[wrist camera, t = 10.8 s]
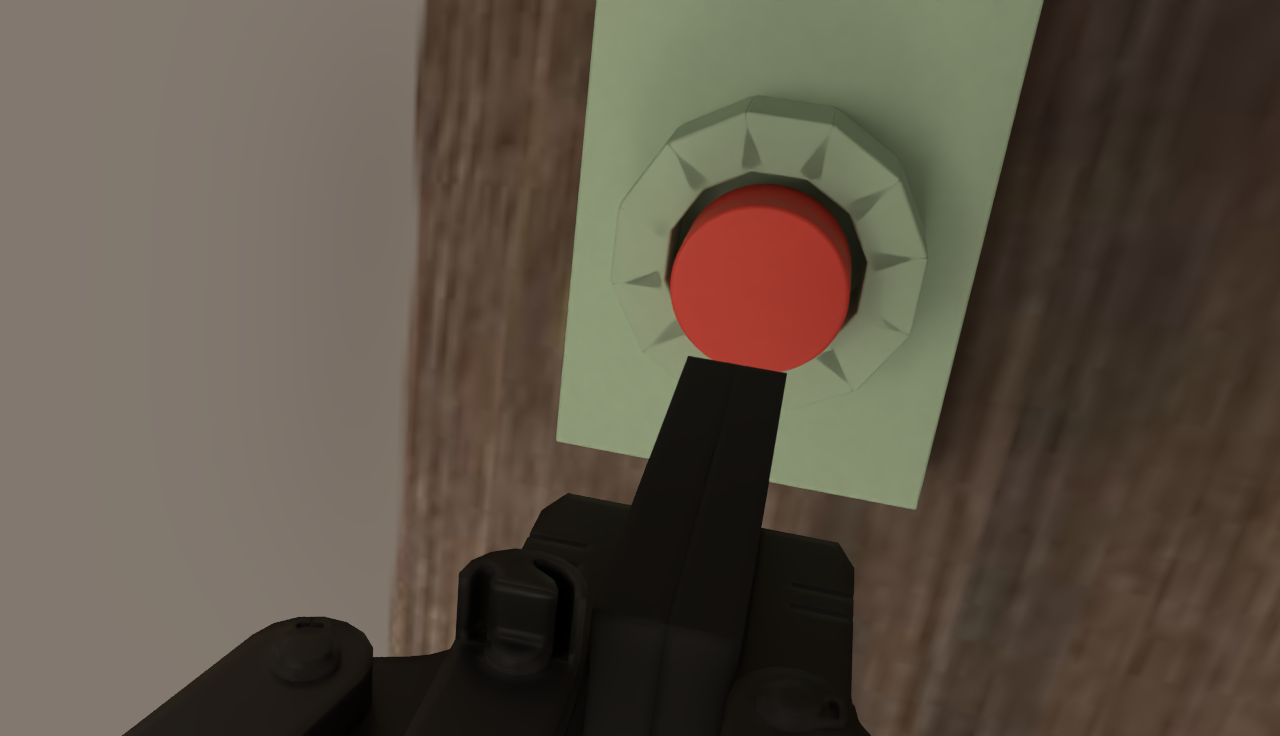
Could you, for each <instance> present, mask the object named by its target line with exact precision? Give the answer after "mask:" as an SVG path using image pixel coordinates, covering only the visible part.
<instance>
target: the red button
mask: <svg viewBox="0 0 1280 736" xmlns="http://www.w3.org/2000/svg"><path fill="white" fill-rule="evenodd" d="M851 271H852V268H851V254H850V248H849V245H848V241H847V238H846V236H845V234H844V232H843V229H842V228H841V226H840V224H839V223H838V221H837V220H836V218H835V217H834V216H833V215H832V214H831V212H830V211H829V210H828V209H827V208H826V207H825V206H823V205H822V204H821V203H820V202H819V201H817V200H816V199H814V198H813V197H811V196H809V195H807V194H806V193H804V192H802V191H799V190H796V189H794V188H791V187H787V186H782V185H776V184H754V185H748V186H743V187H740V188H737V189H734V190H731V191H729V192H727V193H725V194H723V195H721V196H720V197H718V198H716V199H715V200H714V201H712V202H711V203H710V204H709V205H707V206H706V207H705V208H704V209H703V211H702V212H701V213H700V214H699V215H698V216H697V218H696V219H695V221H694V222H693V224H692V226H691V228H690V229H689V231H688V233H687V235H686V237H685V239H684V241H683V243H682V245H681V247H680V249H679V251H678V253H677V255H676V258H675V261H674V264H673V268H672V273H671V280H670V294H671V302H672V306H673V310H674V313H675V316H676V319H677V321H678V323H679V325H680V327H681V329H682V330H683V332H684V333H685V335H686V336H687V337H688V339H689V340H690V341H691V342H692V343H693V344H694V346H695V347H696V348H698V349H699V350H700V351H701V352H702V353H703V354H704V355H706V356H707V357H709V358H710V359H712V360H716V361H721V362H727V363H733V364H738V365H744V366H750V367H755V368H761V369H767V370H772V371H778V372H783V371H787V370H791V369H794V368H796V367H799V366H801V365H803V364H805V363H807V362H809V361H811V360H812V359H814V358H815V357H816V356H818V355H819V354H820V353H821V352H823V351H824V350H825V349H826V348H827V347H828V346H829V345H830V343H831V342H832V341H833V340H834V339H835V337H836V336H837V334H838V332H839V331H840V329H841V327H842V325H843V323H844V320H845V318H846V315H847V311H848V307H849V300H850V289H851Z"/></svg>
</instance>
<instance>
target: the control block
mask: <svg viewBox="0 0 1280 736" xmlns="http://www.w3.org/2000/svg"><path fill="white" fill-rule="evenodd" d="M1043 2H1044V0H596V11H595V22H594V33H593V43H592V54H591V65H590V76H589V87H588V98H587V108H586V119H585V130H584V141H583V152H582V163H581V174H580V184H579V195H578V206H577V217H576V228H575V239H574V249H573V260H572V271H571V282H570V293H569V304H568V314H567V325H566V336H565V347H564V358H563V369H562V379H561V390H560V401H559V412H558V423H557V434H556V440H557V441H558V442H564V443H569V444H574V445H579V446H584V447H590V448H595V449H600V450H605V451H611V452H616V453H621V454H626V455H632V456H637V457H642V458H647V459H649V458H650V455H651V452H652V450H653V447H654V445H655V442H656V439H657V437H658V434H659V431H660V429H661V426H662V423H663V421H664V418H665V415H666V413H667V410H668V407H669V405H670V402H671V400H672V397H673V394H674V392H675V389H676V386H677V384H678V381H679V378H680V376H681V373H682V370H683V368H684V365H685V363H686V360H687V357H688V356H693V357H699V358H705V359H710V358H709V357H707V356H706V355H704V354H703V353H702V352H701V351H700V350H699V349H698V348H696V347H695V346H694V344H693V343H692V342H691V341H690V340H689V339H688V337H687V336H686V335H685V333H684V332H683V330H682V329H681V327H680V325H679V323H678V321H677V319H676V316H675V313H674V310H673V306H672V302H671V294H670V280H671V273H672V268H673V264H674V261H675V258H676V255H677V253H678V251H679V249H680V247H681V245H682V243H683V241H684V239H685V237H686V235H687V233H688V231H689V229H690V228H691V226H692V224H693V222H694V221H695V219H696V218H697V216H698V215H699V214H700V213H701V212H702V211H703V209H704V208H705V207H706V206H707V205H709V204H710V203H711V202H712V201H714V200H715V199H716V198H718V197H720V196H721V195H723V194H725V193H727V192H729V191H731V190H734V189H737V188H740V187H743V186H748V185H754V184H776V185H782V186H787V187H791V188H794V189H796V190H799V191H802V192H804V193H806V194H807V195H809V196H811V197H813V198H814V199H816V200H817V201H819V202H820V203H821V204H822V205H823V206H825V207H826V208H827V209H828V210H829V211H830V212H831V214H832V215H833V216H834V217H835V218H836V220H837V221H838V223H839V224H840V226H841V228H842V229H843V232H844V234H845V236H846V238H847V241H848V245H849V248H850V254H851V268H852V271H851V289H850V300H849V307H848V311H847V315H846V318H845V320H844V323H843V325H842V327H841V329H840V331H839V332H838V334H837V336H836V337H835V339H834V340H833V341H832V342H831V343H830V345H829V346H828V347H827V348H826V349H825V350H824V351H823V352H821V353H820V354H819V355H818V356H816V357H815V358H814V359H812V360H811V361H809V362H807V363H805V364H803V365H801V366H799V367H796V368H794V369H791V370H787V371H783V372H784V373H787V378H786V383H785V389H784V395H783V401H782V407H781V413H780V419H779V425H778V431H777V437H776V443H775V449H774V455H773V461H772V467H771V473H770V479H769V482H773V483H778V484H783V485H789V486H794V487H799V488H804V489H809V490H815V491H820V492H825V493H830V494H836V495H841V496H846V497H851V498H857V499H862V500H867V501H872V502H877V503H883V504H888V505H893V506H898V507H904V508H909V509H916V508H917V505H918V501H919V497H920V493H921V489H922V485H923V481H924V477H925V473H926V469H927V465H928V461H929V457H930V453H931V449H932V445H933V441H934V437H935V433H936V429H937V425H938V421H939V417H940V413H941V409H942V405H943V401H944V397H945V393H946V389H947V385H948V381H949V377H950V373H951V369H952V365H953V361H954V357H955V353H956V349H957V345H958V341H959V337H960V333H961V329H962V325H963V321H964V317H965V313H966V309H967V305H968V301H969V297H970V293H971V289H972V285H973V281H974V277H975V273H976V269H977V265H978V261H979V257H980V253H981V249H982V245H983V241H984V237H985V233H986V229H987V225H988V221H989V217H990V213H991V209H992V205H993V201H994V197H995V193H996V189H997V185H998V181H999V177H1000V173H1001V169H1002V165H1003V161H1004V157H1005V153H1006V149H1007V145H1008V141H1009V137H1010V133H1011V129H1012V125H1013V121H1014V117H1015V113H1016V109H1017V105H1018V101H1019V97H1020V93H1021V89H1022V85H1023V81H1024V77H1025V73H1026V70H1027V66H1028V62H1029V58H1030V54H1031V50H1032V46H1033V42H1034V38H1035V34H1036V30H1037V26H1038V22H1039V18H1040V14H1041V10H1042V6H1043ZM710 360H712V359H710Z"/></svg>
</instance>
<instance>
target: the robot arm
mask: <svg viewBox="0 0 1280 736" xmlns="http://www.w3.org/2000/svg"><path fill="white" fill-rule="evenodd" d="M786 378H787V373H784V372H778V371H772V370H767V369H761V368H755V367H750V366H744V365H738V364H733V363H727V362H721V361H716V360H710V359H705V358H699V357H693V356H688V357H687V360H686V363H685V365H684V368H683V370H682V373H681V376H680V378H679V381H678V384H677V386H676V389H675V392H674V394H673V397H672V400H671V402H670V405H669V407H668V410H667V413H666V415H665V418H664V421H663V423H662V426H661V429H660V431H659V434H658V437H657V439H656V442H655V445H654V447H653V450H652V452H651V455H650V458H649V460H648V463H647V466H646V468H645V471H644V474H643V476H642V479H641V482H640V484H639V487H638V489H637V492H636V495H635V497H634V500H633V503H632V505H626V504H621V503H616V502H611V501H606V500H600V499H595V498H590V497H585V496H580V495H575V494H570V493H567V494H566V495H564V496H563V497H561V498H560V499H558V500H557V501H555V502H553V503H552V504H550V505H549V506H547V507H546V508H544V509H543V510H542V511H541V513H540V515H539V517H538V519H537V521H536V523H535V525H534V527H533V528H532V530H531V532H530V537H528V538H527V540H526V542H525V544H524V546H523V548H522V549H509V550H502V551H495V552H490V553H488V554H485V555H483V556H481V557H479V558H476V559H474V560H472V561H471V562H470V563H469V564H468V565H467V566H466V567H465V568H464V569H463V570H462V571H461V572H460V573H459V585H458V603H457V621H456V639H455V641H454V643H453V645H452V647H451V649H449V650H445V651H442V652H438V653H434V654H430V655H421V656H410V657H373V647H372V645H371V644H370V642H369V640H368V639H367V637H366V635H365V634H364V633H363V632H362V631H360V630H358V629H357V628H355V627H354V626H352V625H350V624H349V623H347V622H344V621H340V620H336V619H331V618H327V617H297V618H293V619H289V620H285V621H281V622H277V623H273V624H271V625H270V626H268V627H266V628H264V629H262V630H260V631H259V632H257V633H255V634H253V635H252V636H250V637H249V638H248V639H247V640H245V641H244V642H243V643H241V644H240V645H239V646H237V647H236V648H235V649H234V650H232V651H231V652H230V653H229V654H227V655H226V656H224V657H223V658H222V659H221V660H219V661H218V662H217V663H216V664H214V665H213V666H212V667H210V668H209V669H208V670H206V671H205V672H204V673H203V674H201V675H200V676H199V677H197V678H196V679H195V680H193V681H192V682H191V683H190V684H188V685H187V686H186V687H185V688H183V689H182V690H181V691H179V692H178V693H177V694H175V695H174V696H173V697H171V698H170V699H169V700H168V701H166V702H165V703H164V704H162V705H161V706H160V707H159V708H157V709H156V710H155V711H153V712H152V713H151V714H150V715H148V716H147V717H146V718H144V719H143V720H142V721H140V722H139V723H138V724H137V725H135V726H134V727H133V728H131V729H130V730H129V731H128V732H126V733H125V734H124V735H122V736H871V735H870V734H869V733H868V732H867V731H866V730H865V728H864V727H863V726H862V725H861V724H860V722H859V720H858V717H857V713H856V709H855V706H854V705H853V704H852V698H851V681H852V641H853V620H852V619H853V601H854V599H853V595H854V567H853V566H852V564H851V562H850V561H849V559H848V557H847V556H846V554H845V553H844V551H843V549H842V548H841V546H840V545H839V543H837V542H832V541H826V540H821V539H816V538H811V537H806V536H801V535H796V534H790V533H785V532H780V531H775V530H770V529H765V528H761V526H762V520H763V514H764V508H765V503H766V497H767V491H768V485H769V479H770V473H771V467H772V461H773V455H774V449H775V443H776V437H777V431H778V425H779V419H780V413H781V407H782V401H783V395H784V389H785V383H786Z"/></svg>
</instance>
